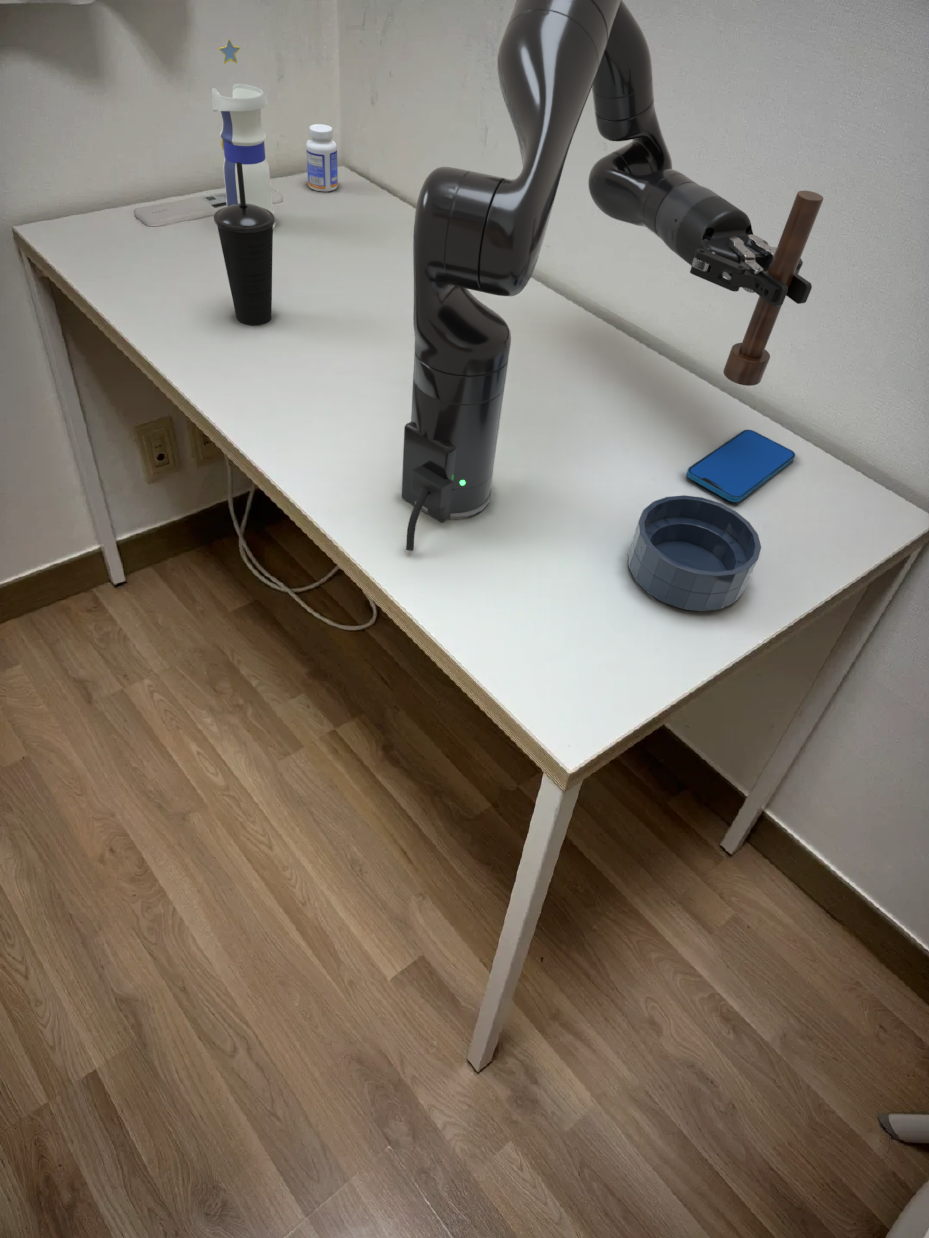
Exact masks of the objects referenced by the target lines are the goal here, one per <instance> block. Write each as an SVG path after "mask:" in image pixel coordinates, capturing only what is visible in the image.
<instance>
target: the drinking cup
mask: <svg viewBox="0 0 929 1238" xmlns="http://www.w3.org/2000/svg"><path fill="white" fill-rule="evenodd" d="M236 165H237V175H238V185H239V195H240V203H239V204H233V205H230V206H227V205H226V206H225V207H221V208H220V209H217V210H216V211H215V212H214V214H213V222H214V224H215V226H216V227H217V231H218V232H217V233H218V236H219V241H220V246H221V252H222V255H223V260H224V261H223V262H224V265H225V269H226V274H227V279H228V280H227V281H228V285H229V289H230V294H231V299H232V304H233V308H234V313H235V317H236V319H237V321H238V322H239V323H242V324H243V325H249V326H259V325H264V324H267V323H268V322H270V321H271V319H272V316H273V315H272V313H273V312H272V307H273V305H272V304H273V303H272V301H273V251H274V250H273V248H274V247H273V245H274V243H273V241H274V239H273V238H274V228H273V225H274V223H275V224H276V216H275V214H274V215H273V213H272V212H270V211H269V210H267V209H265V208H262V207H259V206H256V205H253V204H246V200H245V190H244V180H243V169H242V163H241V162H237V163H236Z"/></svg>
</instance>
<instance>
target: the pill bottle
mask: <svg viewBox="0 0 929 1238" xmlns="http://www.w3.org/2000/svg"><path fill="white" fill-rule="evenodd" d="M308 130H309V131H308V135H309V137H310V138H309V139H308V140H306V143H305V150H306V153H305V154H306V172H307V185H308V188H309V189H311V190H312V191H315V192H333V191H335V190H336V189H338V185H339V175H338V174H339V172H338V171H339V168H338V145H337V143H336V141H334V140H333V136H334V135H333V134H334V131H333V127H332V126H330V125H328V124H324V123H323V124H322V123H316V124H314V123H313V124H311V125H310V126H309V129H308Z"/></svg>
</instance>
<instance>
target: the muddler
mask: <svg viewBox="0 0 929 1238" xmlns="http://www.w3.org/2000/svg"><path fill="white" fill-rule="evenodd" d="M823 201H824V197H823V195H821V194H820V193H818V192H814V191H811V190H799V191H797V193H796V195H795V197H794V200H793V203H792V206H791V208H790V211H789V214H788V217H787V220H786V222H785V225H784V228H783V229H782V233H781V236H780V238H779V241H778V244H777V247H776V248H777V249H776V252H775V255H774V257H773V260H772V263H771V266H770V268H769V271H768V272H769V273H770V274H771V275H773V276H774V277H775V278H777V279H778V280H780V281H781V282H782V283H784V284H785V285H786V286H787V287H788V288H789V286H790V283H791V281H792V278H793V276H794V273H795V271H796V268H797V265H798V263H799V260H800V258H801V259H802V255H803V252H804V250H805V248H806V246H807V243H808V239H809V237H810V235H811V232H812V230H813V228H814V225H815V222H816V220H817V217H818V215H819V214H818V213H819V212H820V209H821V207H822V204H823ZM782 307H783V304H782V305H781V306H776V307H774V306H772V305H771V304H770V303H768V302H767V301H766V300H764V299H763V298H762V297H761V296H759V295H758V298H757V301H756V304H755V306H754V309H753V312H752V315H751V317H750V320H749V322H748V325H747V328H746V331H745V333H744V337H743V339H742V342H737V343H735V344H733V345H732V346H731V349H730V351H729V354H728V357H727V359H726V362H725V365H724V367H723V375H724V377H725V378H726V379H727V380H729V381H731V382H732V383H735V384H738V385H741V386H747V387H751V386H757V385H759V384H760V383H761V382H762V380H763V376H764V374H765V372H766V369H767V367H768V365H769V361H770V359H771V354H770V353H769V351H767V349H766V347H767V344H768V342H769V340H770V337H771V334H772V332H773V330H774V326H775V324H776V321H777V319H778V317H779V314H780V311H781V309H782Z"/></svg>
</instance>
